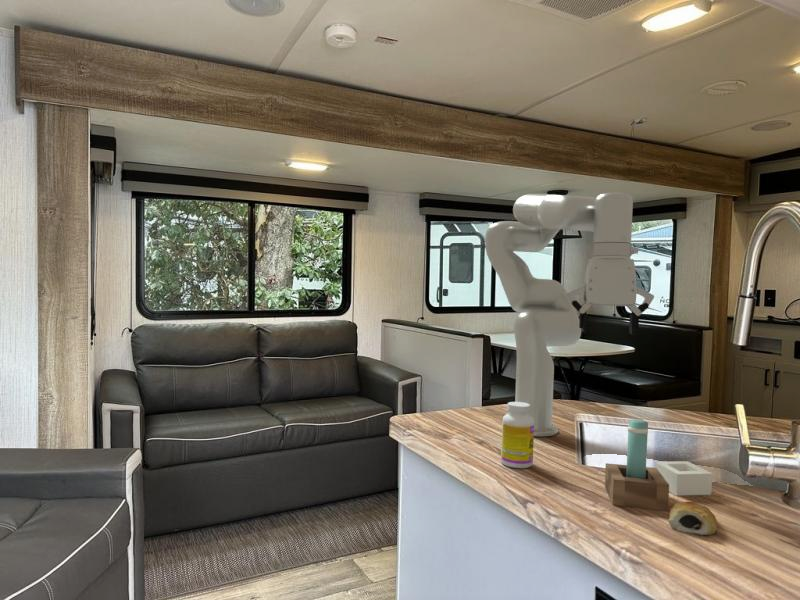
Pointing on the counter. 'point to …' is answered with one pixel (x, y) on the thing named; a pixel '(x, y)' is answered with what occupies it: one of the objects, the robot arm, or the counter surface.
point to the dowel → (637, 448)
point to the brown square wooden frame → (636, 488)
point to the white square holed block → (685, 478)
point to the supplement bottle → (517, 436)
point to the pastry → (692, 518)
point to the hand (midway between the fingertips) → (608, 333)
